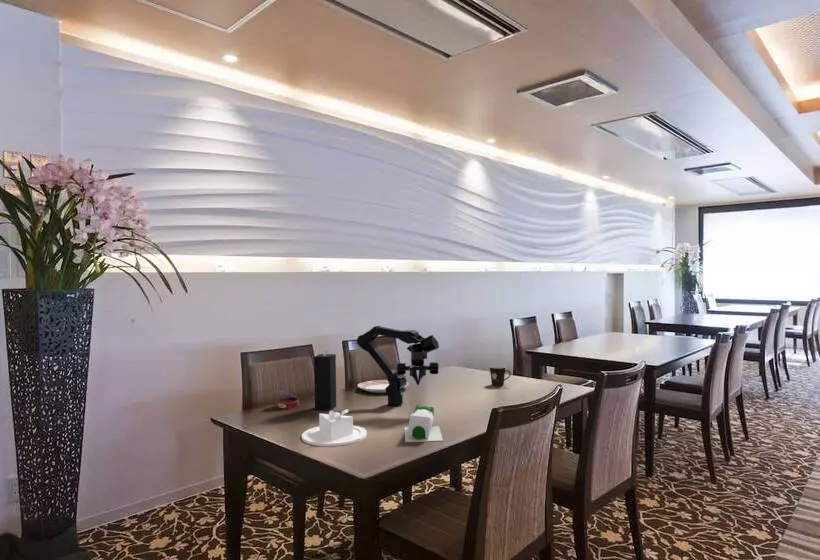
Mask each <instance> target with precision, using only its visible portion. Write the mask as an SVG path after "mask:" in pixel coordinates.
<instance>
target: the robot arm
mask: <svg viewBox="0 0 820 560" xmlns="http://www.w3.org/2000/svg"><path fill="white" fill-rule="evenodd" d="M379 336H381V337H382V336H384V337H388V338H393V339H396V340H399V341H401V342H403V343H404V344H408V345H409V346H407V347H406V350H407V351H409V352H410V363H411V364H409V365H406V362H398V363H397V364H396V369H394V367H393V366H392V365H391V363H390V362H389V361H388V359H387V358H386V357H385V355H384V354H383V353H382V352H381V349H379V348H378V346H377V342H376V339H377V338H378V337H379ZM356 344H357V345H358V346H359V347H360V348H361V349H362V350H364V351H365V352H367V353H368V354H369V355H370V357H371V358H372V359H373V360H374V361H375V363H376V364H377V365H378V366H379V368H380V369H381V371H382V372H383V373H384V375H385V376H386V380H388V383H389V385H388V386H387V387H386V388H385V390H386V393H385V394H387V404H386V406H388V407H390V406H391V407H402V405H403V404H404V394H403V392H402V391H403V390H404V389H405V388H406V387H405V385H406V382H407V381H408V380H407V378H406V374H407V372H408V371H409V376H410V377H412V378H413V379H414V381H415V383H416V385H417V386H419V385H420V384H421V382H422V379H423V378H424V377H425V376H427V371H429V373H430V375H438V374H439V369H440V368H439V363H438V362H435V361H434V362H429V365H428V364H427V365H425V360H427V359H428V354H429V353H430V352H434V351H436V350H439V348H440V344H439V341H438V340H437V339H436V337H434V334H433V335H429V336H427V337H424V336H422V335H421V334H420V333H419V331H417V330H415V329H414V330H413V329H409V330H408V329H407V330H400V329H395V328H389V327H385V326H381V325H376V326H373V327H372V328H371V329H369V330H367V331H366V332H364V333H363V334H361V335H359V336H357V339H356ZM417 371H418V372H417ZM404 387H405V388H404Z"/></svg>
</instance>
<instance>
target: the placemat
mask: <svg viewBox="0 0 820 560" xmlns="http://www.w3.org/2000/svg"><path fill="white" fill-rule="evenodd" d="M403 429H404V440H405V441H404V442H405V443H417V442H418V443H419V442H420V443H422V442H424V443H426V442H429V443H431V442H444V439H443V437H442V435H443V434H442V432H441V429H440V426H438V425H437V426H436V425H435V426H434V425H433V426H432V429H431V432H430V435H429V438H421V439H416V438H415V437H413V436H409V426H405V427H404V428H403Z"/></svg>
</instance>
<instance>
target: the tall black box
mask: <svg viewBox="0 0 820 560" xmlns="http://www.w3.org/2000/svg"><path fill="white" fill-rule="evenodd" d="M321 350H322V353H320V354H317V355H314V356H313V371H314V373H313V374H314V376H313V379H314V383H313V384H314V410H315V411H333V410H334V409H335V408H336V407H337V370H336V369H337V368H336V367H337V363H336V362H337V360H336V359H337V354H336V353H335V354H334V353H333V354H332V353H328V350H329V349H328V348H323V347H322V348H321ZM327 353H328V354H327Z"/></svg>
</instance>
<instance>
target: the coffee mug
mask: <svg viewBox="0 0 820 560" xmlns="http://www.w3.org/2000/svg"><path fill="white" fill-rule="evenodd" d="M489 372H490V373H489V374H490V379H491V380H490V381H491V386H493V387H503V386H504V384H505V381H506V380H508V379H509V378H510V377H511V375H512V374H511V371H510V370H508V369H506V366H505V365H490V366H489ZM506 372H507V373H509V375H508V376H507V377H506V378H505V376H506V375H505V374H506Z"/></svg>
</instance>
